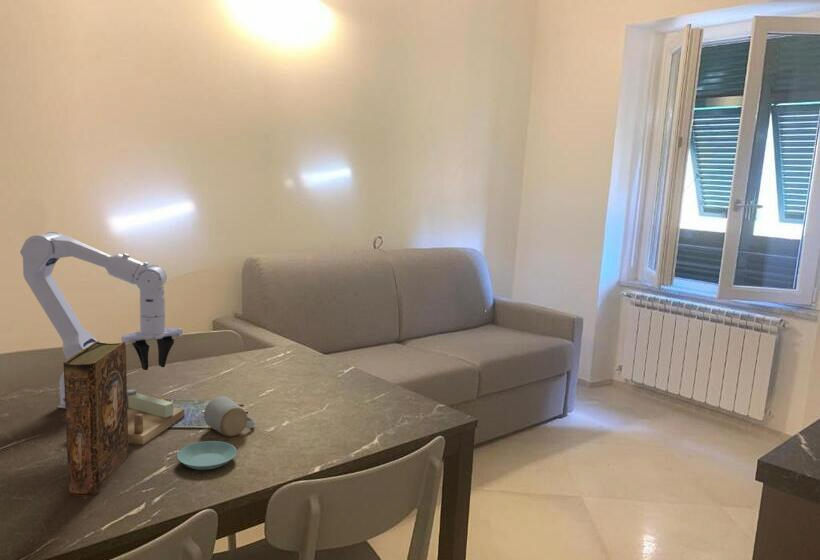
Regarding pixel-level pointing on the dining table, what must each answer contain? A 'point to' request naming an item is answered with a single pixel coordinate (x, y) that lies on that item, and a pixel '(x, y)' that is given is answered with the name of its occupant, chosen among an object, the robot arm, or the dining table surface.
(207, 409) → the ceramic mug
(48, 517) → the dining table surface
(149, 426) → the stool seat
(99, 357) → the book
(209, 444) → the saucer
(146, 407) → the leg
